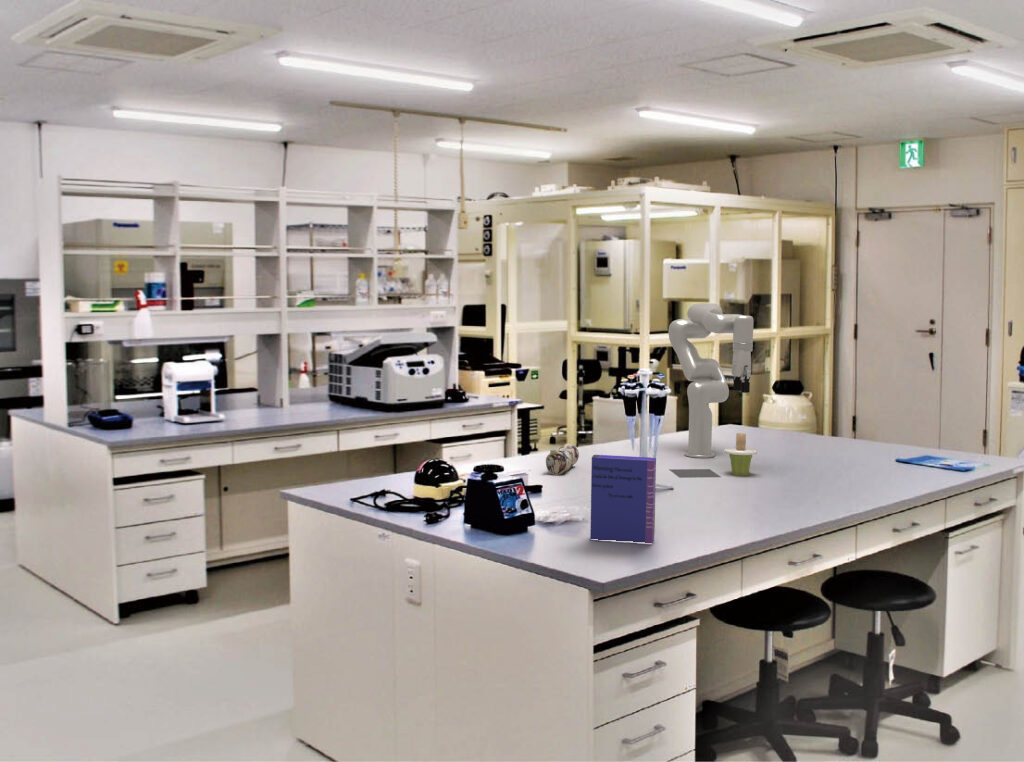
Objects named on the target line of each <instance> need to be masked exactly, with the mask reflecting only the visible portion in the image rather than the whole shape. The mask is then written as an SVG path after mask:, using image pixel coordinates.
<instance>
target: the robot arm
mask: <svg viewBox="0 0 1024 762" xmlns="http://www.w3.org/2000/svg"><path fill="white" fill-rule="evenodd" d="M686 315H687V318H679V319H676V320H673V321H671V322H670V324H669V326H668V340H669V341H670V344H671V346H672V347H671V348H673V350H674V352H675V353H676V356H677V359H678V361H679V364H680V366H681V369H682V370H681V371H682V373H683V375H684V377H685V379H686V380H688V382H689V381H690V384H688V386H687V390H686V391H687V400H688V447H687V448H688V449H687V451H684V453H683V454H684V456H686V457H688V458H697V459H702V458H703V459H706V458H707V459H708V458H713V457H714V458H715V456H716V453H715V452H714V451H712V445H713V444H712V439H713V437H712V435H713V433H712V432H713V412H712V410H711V408H710V406H709V404H716V403H724V402H725V401H727V399H728V398H729V395H730V390H729V386H728V383H727V380H726V377H725V375H724V372H723V371H724V370H723V369H722V367H721V365H720V362H718V360H716V359H714V358H711V357H710V358H708V357H707V358H703V357H700V355H699V352H698V349H697V347H696V346H695V345H694V344H693V343H692V342H691V341H689V340H690V339H706V338H707V337H708V336H710V335H711V334H712V333H714V334H733V335H732V352H733V354H732V360H731V361H732V362H731V375H732V376H733V387H732V388H733V390H734V391H741V393H742V394H743V393H745V394H747V393H748V394H749V393H750V388H751V385H750V384H751V372H752V356H751V355H752V354H751V352H753V347H754V345H753V343H754V318H753V316H751V315H743V314H737V313H735V314H732V313H726V314H725V313H723V309H722V307H721V306H720V305H718V304H716V303H704V302H703V303H695V304H692V305H690V307H689V308H688V309H687V312H686ZM688 339H689V340H688Z"/></svg>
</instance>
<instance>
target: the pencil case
mask: <svg viewBox="0 0 1024 762" xmlns="http://www.w3.org/2000/svg"><path fill="white" fill-rule="evenodd" d="M579 458H580V452H579V450H578V448H577V447H576V446H575V445H573V444H571V443H570V442H569V443H565V444H563V445H562V446H561V447H559V449H550V450H549V453H548V455H547V456H546V457H545V466H546V469H547V471H548V473H550V474H551V475H553V476H560V475H562V474H564V473H566V472H567V471H568V470H570V469H571V468H572V467H573V466H574V465H576V464H577V463H578V460H579Z"/></svg>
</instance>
